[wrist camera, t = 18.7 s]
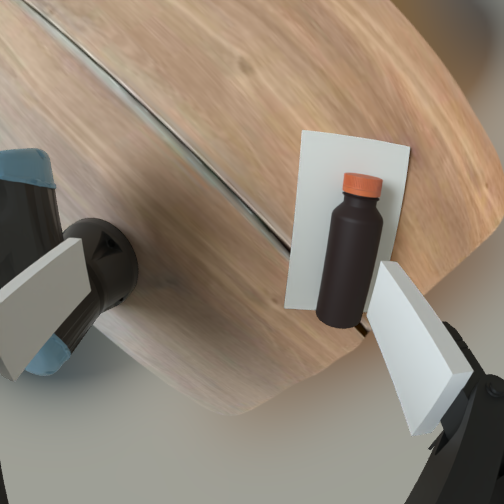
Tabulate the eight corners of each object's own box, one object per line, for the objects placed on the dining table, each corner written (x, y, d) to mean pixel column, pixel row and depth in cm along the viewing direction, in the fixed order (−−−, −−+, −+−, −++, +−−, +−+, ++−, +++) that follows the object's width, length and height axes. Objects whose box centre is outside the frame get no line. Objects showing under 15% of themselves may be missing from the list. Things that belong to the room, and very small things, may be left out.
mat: (284, 306, 47) (284, 308, 46) (302, 130, 36) (302, 130, 36) (374, 310, 46) (375, 312, 46) (408, 146, 36) (410, 146, 35)
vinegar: (305, 314, 42) (325, 171, 35) (333, 299, 47) (354, 171, 39) (343, 336, 38) (375, 182, 30) (368, 317, 42) (398, 181, 34)
